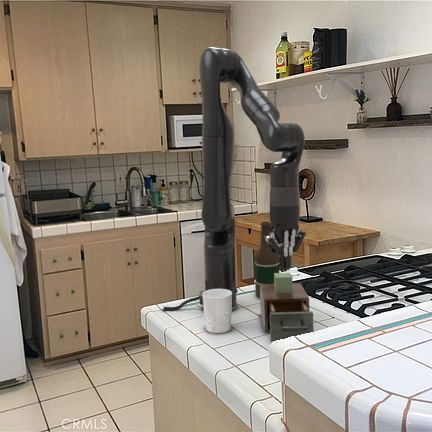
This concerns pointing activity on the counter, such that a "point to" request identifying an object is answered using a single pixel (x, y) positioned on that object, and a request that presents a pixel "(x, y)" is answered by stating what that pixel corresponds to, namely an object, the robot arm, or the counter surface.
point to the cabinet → (279, 299)
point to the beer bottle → (265, 261)
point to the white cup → (217, 310)
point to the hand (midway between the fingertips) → (285, 269)
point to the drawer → (289, 319)
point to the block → (283, 283)
